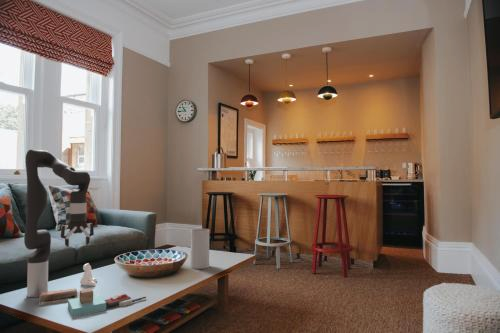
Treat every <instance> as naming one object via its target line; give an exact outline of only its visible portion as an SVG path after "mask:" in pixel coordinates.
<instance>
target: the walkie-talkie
mask: <svg viewBox="0 0 500 333" xmlns="http://www.w3.org/2000/svg"><path fill="white" fill-rule="evenodd" d="M145 299H147V296H142V297H139V298H135V299H132V297H131V296H129V295H128V294H126V293H124V292H123V293H119V294H116V295H114V297H113V296H111V297H110V298H107V299H104V300H105V302H106V309H108V308H109V309H113V308H116V307H125V306H129V305H133V303H135V302H139V301H142V300H145Z"/></svg>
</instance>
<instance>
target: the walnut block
mask: <svg viewBox="0 0 500 333" xmlns="http://www.w3.org/2000/svg"><path fill="white" fill-rule="evenodd" d="M79 294H80V302H81V304H83V303H89V302H93V295H94V290H93V288H92V287H89V288H84V289H83V288H82V289H79Z"/></svg>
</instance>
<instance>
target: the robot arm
mask: <svg viewBox="0 0 500 333" xmlns="http://www.w3.org/2000/svg"><path fill="white" fill-rule="evenodd" d="M39 168H48V169H52V172H53V174H54V175H56V176H57V177H59V178H61V179H63V180H64V181H65V183H66V184H68V185H69V186H73V187H74V186H75V187H77V188H76V189H75V190H72V191H71V192H70V193H69V194H70V195H69V206H68V207H69V208H68V209H69V210H68V212H69V213H68V216H69V217H68V224H67V225H66V224H65V225H64V224H62V225H61V227H60V228H61V229H60V238H61V239H64V246H66V248H69V247H70V237H71V236H72V234H74V235H75V234H84V235H85V245H86V246H88V245H89V244H90V237H92V236H94V234H95V232H94V223H92V222H90V223H87V212H88V211H87V193H88V190H89V186H90V184H91V176H90V174H89V173H88V171H85V170H84V171H83V170H76V168H74V167H73V166H71V165H69V164H67V163H65V162H64V161H62V160H60V159H58V158H57V157H56V156H55V155H53V153H51V152H50V151H48V150H46V149H33V148H32V149H29V150H28V151H27V152H26V154H25V169H26V171H25V172H26V218H25V219H26V222H25V229H24V234H23V235H24V236H23V239H24V240H23V241H24V246H25V248H26V249H27V250H29V251H30V250H31V251H32V250H35V251H34V252H33V253H31V255H29V256H28V257H27V276H26V277H27V279H26V285H27V287H26V289H27V290H26V296H27V297H28V298H39V295H40V294H41V293H42V292H49V257H50V255H51V247H52V246H51V244H52V238H51V233H50V231H49V230H48V229H38V225H39V221H40V219H41V217H42V215H43V214H44V213H45V211H46V209H47V205H48V191H47V189H46V187H45V185H44V184H43V183H42V181H41V179H40V177H39V171H38V169H39ZM87 227H88V228H89V232H88V231H87V230H86V228H87ZM67 228H68V230H69V231H67V233H66V232H65V231H66V230H67ZM65 233H66V235H65Z"/></svg>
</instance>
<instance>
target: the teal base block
mask: <svg viewBox="0 0 500 333" xmlns="http://www.w3.org/2000/svg"><path fill="white" fill-rule="evenodd" d="M105 300H106V299H104V298H103V296H102V295H101V294H93V302H89V303H83V304H81V302H80V298H75V299H69V300H68V302H67V308H68V310H69V312H70V315H71V317H72V318H75V317H79V316H83V315H84V316H85V315H89V314H95V313H100V312H103V311H107V308H106V302H105Z"/></svg>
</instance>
